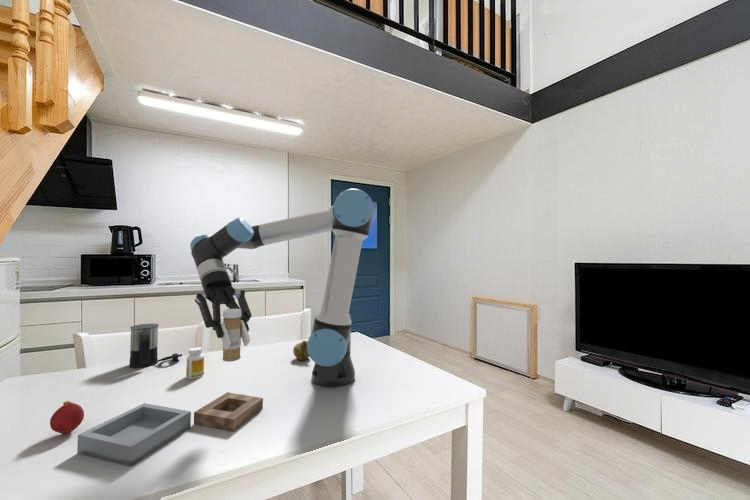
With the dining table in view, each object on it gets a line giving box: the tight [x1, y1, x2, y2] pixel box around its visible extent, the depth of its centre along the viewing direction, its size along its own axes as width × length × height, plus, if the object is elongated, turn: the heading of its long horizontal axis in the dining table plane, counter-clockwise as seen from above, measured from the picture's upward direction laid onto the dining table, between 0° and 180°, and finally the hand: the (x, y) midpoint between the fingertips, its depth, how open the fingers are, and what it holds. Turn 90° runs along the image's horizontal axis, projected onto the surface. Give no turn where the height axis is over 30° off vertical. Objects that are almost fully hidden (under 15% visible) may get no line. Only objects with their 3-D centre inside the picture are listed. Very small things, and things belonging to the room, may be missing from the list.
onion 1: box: [49, 400, 85, 436], centre depth 75 cm, size 6×6×8 cm
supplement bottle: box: [185, 346, 205, 380], centre depth 111 cm, size 5×5×10 cm
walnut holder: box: [193, 392, 264, 432], centre depth 85 cm, size 12×12×3 cm
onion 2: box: [292, 340, 310, 361], centre depth 131 cm, size 8×8×8 cm
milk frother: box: [128, 323, 183, 368], centre depth 123 cm, size 14×16×15 cm
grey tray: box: [76, 402, 192, 467], centre depth 74 cm, size 15×15×4 cm
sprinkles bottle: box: [222, 308, 242, 363], centre depth 85 cm, size 5×5×14 cm
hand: (238, 344), depth 82 cm, fingers closed on sprinkles bottle, 4 cm apart
